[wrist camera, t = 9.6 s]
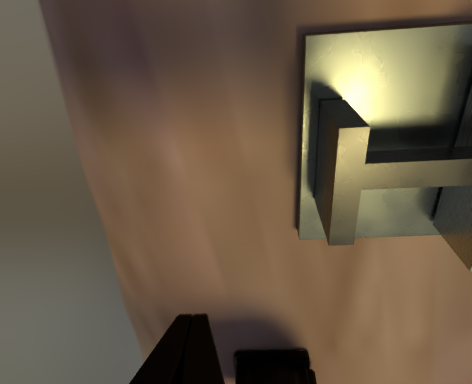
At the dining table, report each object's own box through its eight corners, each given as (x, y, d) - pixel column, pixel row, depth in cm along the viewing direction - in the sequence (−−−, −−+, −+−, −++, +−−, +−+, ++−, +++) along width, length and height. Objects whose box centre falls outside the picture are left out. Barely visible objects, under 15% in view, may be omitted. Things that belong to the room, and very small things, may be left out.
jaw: (313, 228, 21) (325, 275, 17) (323, 58, 16) (344, 76, 12) (466, 223, 20) (511, 269, 17) (528, 44, 15) (609, 59, 12)
